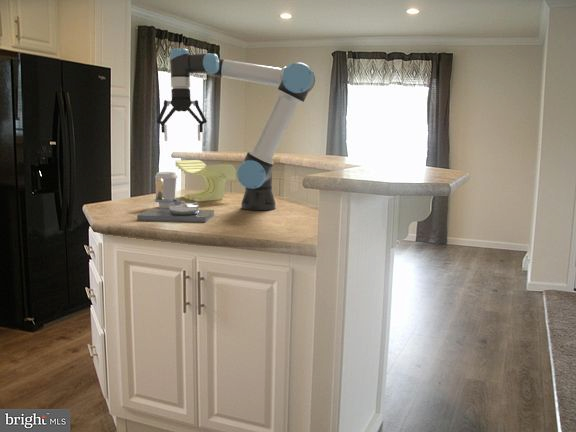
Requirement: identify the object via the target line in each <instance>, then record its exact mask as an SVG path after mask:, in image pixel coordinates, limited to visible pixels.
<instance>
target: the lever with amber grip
mask: <svg viewBox="0 0 576 432" xmlns="http://www.w3.org/2000/svg"><path fill="white" fill-rule="evenodd" d="M154 202H155V203H158V204H159V203H168V204H170V208H169V209H170V213H171V214H176V215H191V214H197V213H199V210H200V209H199V201H195V202H186V201H185V200H178V199H177V198H175V199H173V200H167V199H164V191H163V179H156V178H155V199H154Z"/></svg>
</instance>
